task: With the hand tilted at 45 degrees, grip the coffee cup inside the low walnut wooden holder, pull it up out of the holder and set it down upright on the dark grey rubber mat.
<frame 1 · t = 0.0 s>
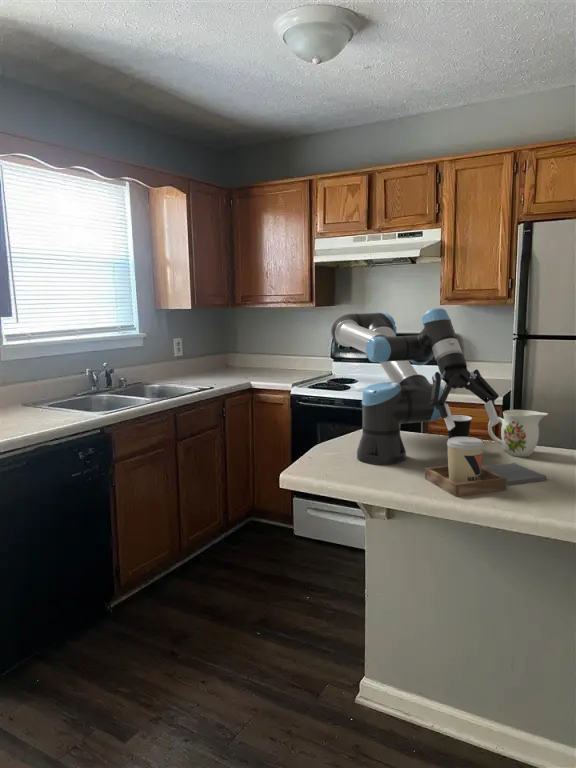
hand: (474, 426, 149), 15 cm above the countertop, tool tilted 35°, fingers open, 13 cm apart
coffee cup: (464, 484, 149), resting in cup holder
cup holder: (464, 484, 149), on the countertop
rubber mat: (510, 475, 155), on the countertop
dixie cup: (458, 451, 181), on the countertop
pitcher: (515, 453, 177), on the countertop
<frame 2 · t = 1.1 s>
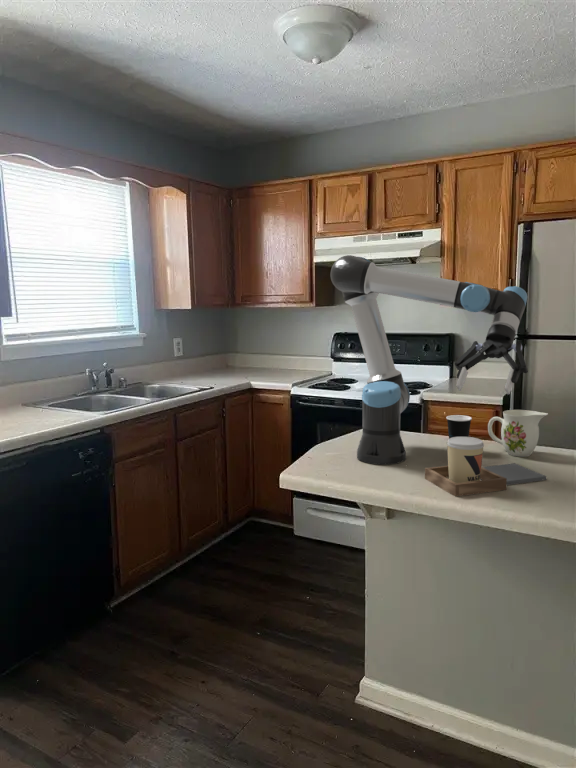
hand: (482, 389, 154), 24 cm above the countertop, tool tilted 45°, fingers open, 13 cm apart
nothing on the countertop moved.
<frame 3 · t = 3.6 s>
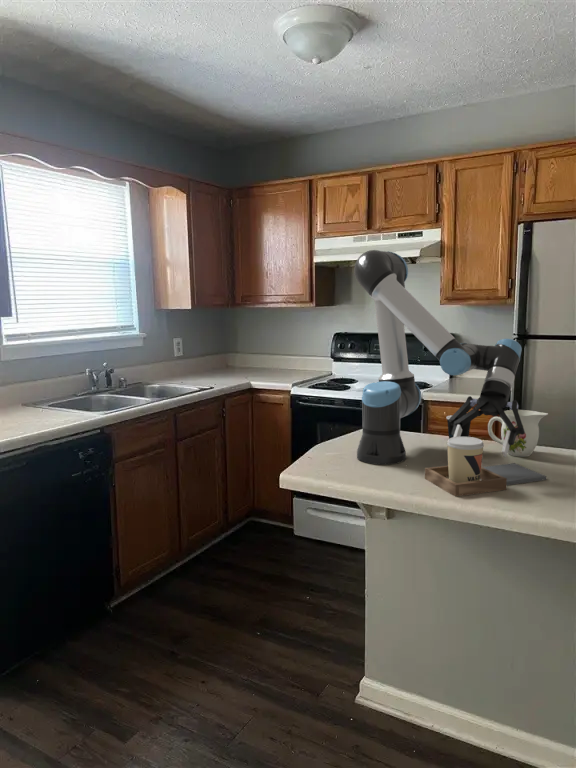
hand: (478, 450, 149), 9 cm above the countertop, tool tilted 45°, fingers open, 13 cm apart
nothing on the countertop moved.
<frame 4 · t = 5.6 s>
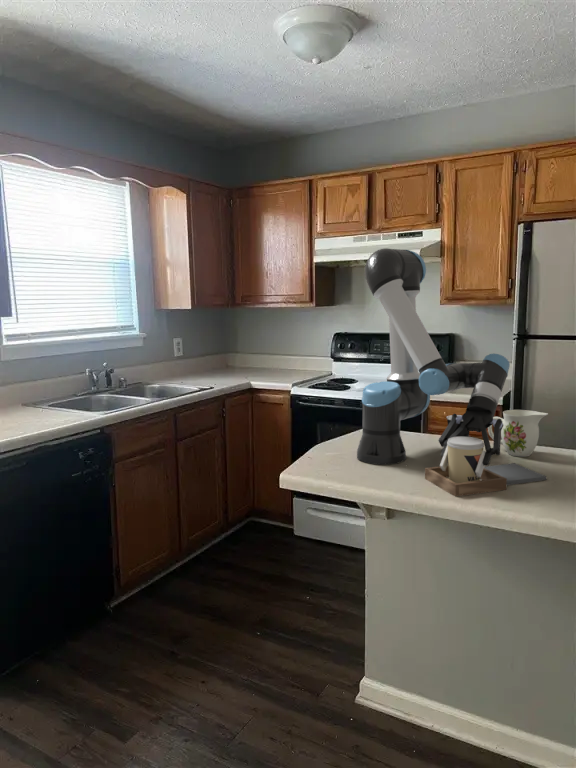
hand: (459, 471, 146), 4 cm above the countertop, tool tilted 45°, fingers closed on coffee cup, 9 cm apart
coffee cup: (464, 484, 149), resting in cup holder, touching gripper
everything else where it was.
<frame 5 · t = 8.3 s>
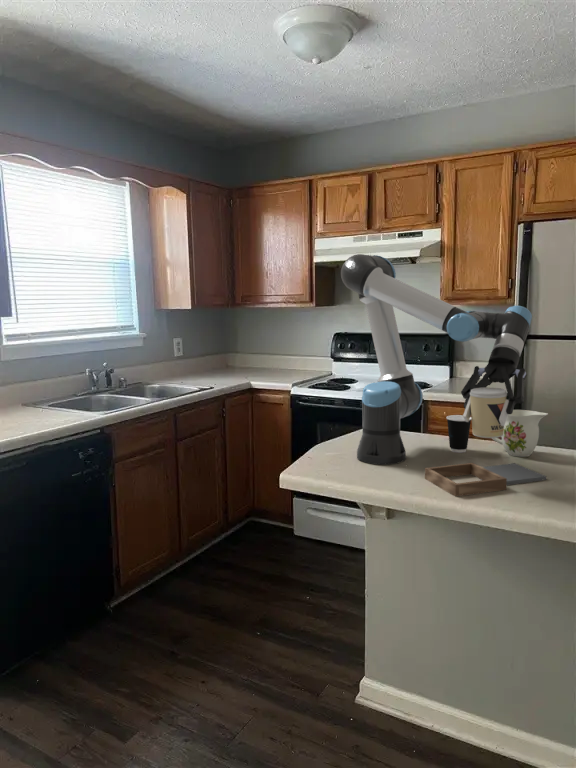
hand: (483, 421, 146), 17 cm above the countertop, tool tilted 45°, fingers closed on coffee cup, 9 cm apart
coffee cup: (487, 435, 149), point 13 cm above the countertop, touching gripper
everything else where it was.
when the fingers open (7 cm above the countertop, at t = 11.3 s): coffee cup drops 1 cm, resting on rubber mat.
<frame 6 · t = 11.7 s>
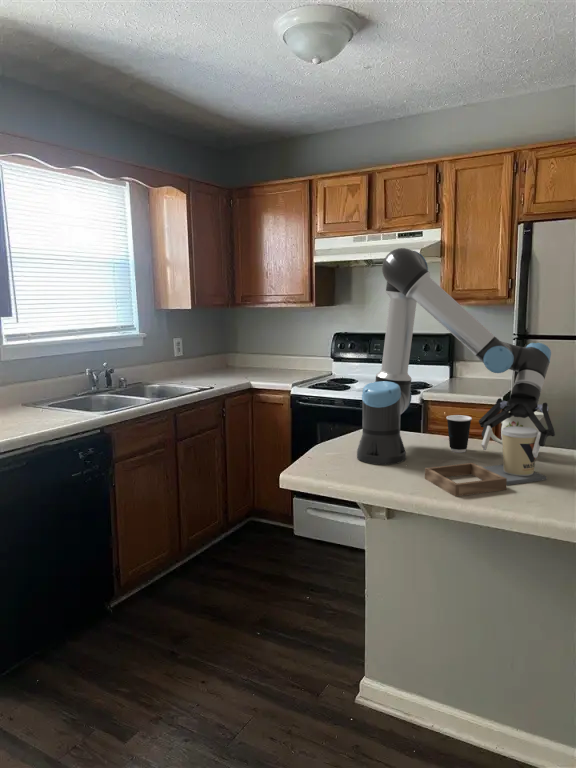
hand: (508, 451, 152), 7 cm above the countertop, tool tilted 45°, fingers open, 13 cm apart
coffee cup: (518, 472, 155), point 1 cm above the countertop, touching gripper, rubber mat
everything else where it was.
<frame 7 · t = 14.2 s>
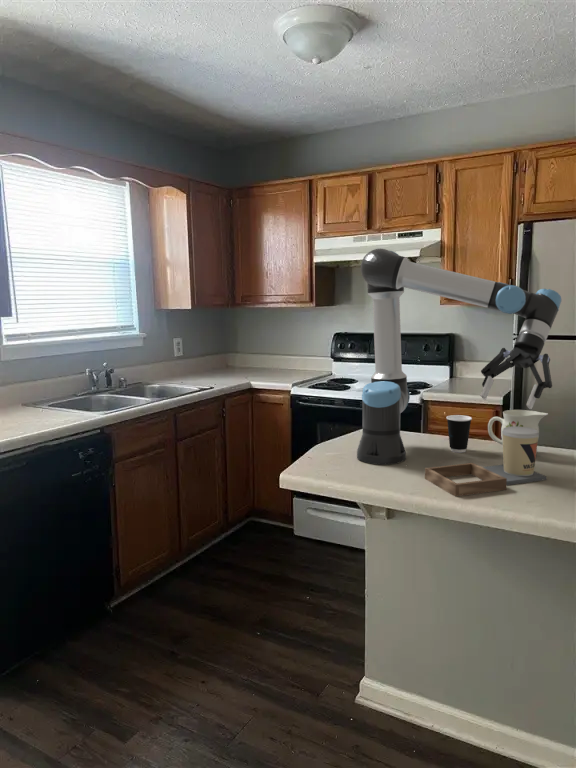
hand: (505, 402, 158), 20 cm above the countertop, tool tilted 35°, fingers open, 13 cm apart
coffee cup: (518, 472, 155), point 1 cm above the countertop, touching rubber mat
everything else where it was.
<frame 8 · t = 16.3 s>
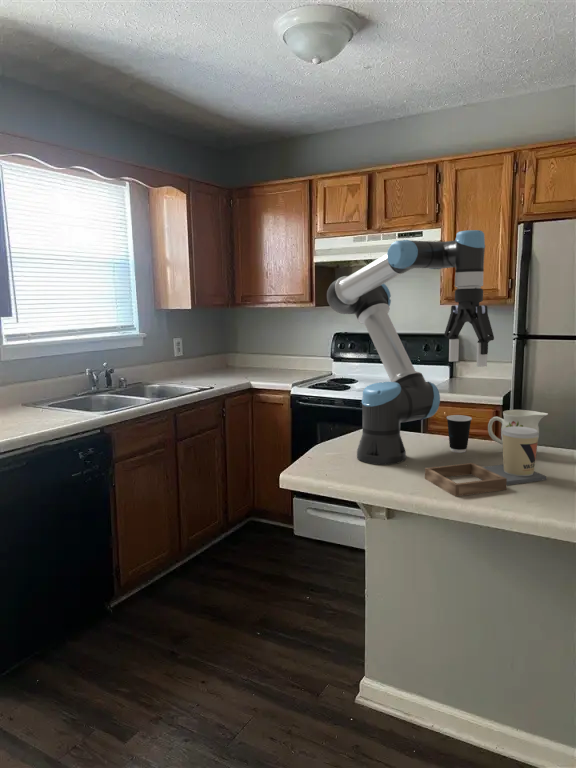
hand: (467, 363, 158), 31 cm above the countertop, tool pointing down, fingers open, 13 cm apart
nothing on the countertop moved.
at the end: coffee cup inside the target area on the rubber mat (2.3 cm from its centre), point 0.8 cm above the rubber mat's base; coffee cup tilted 0°; the gripper is holding nothing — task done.
